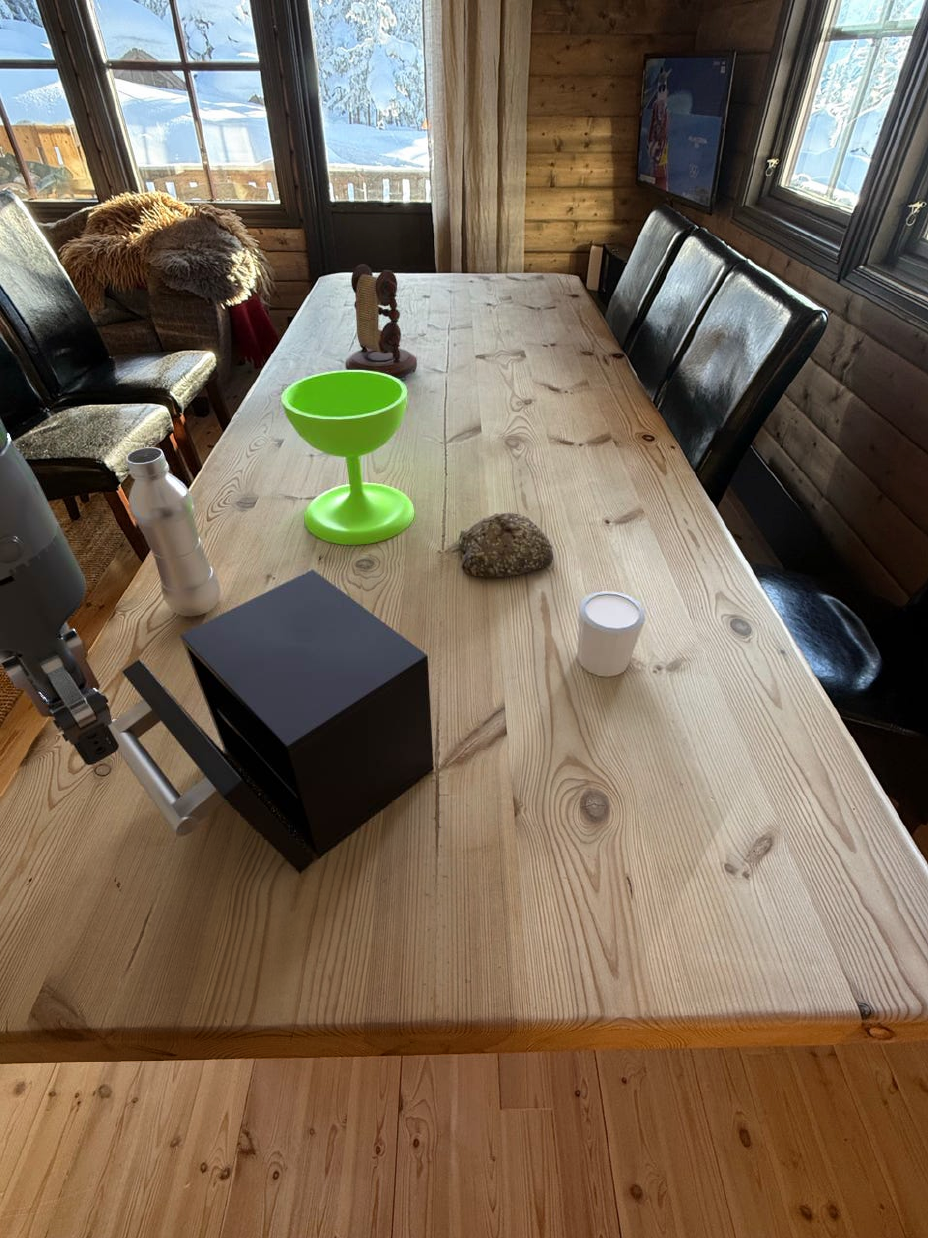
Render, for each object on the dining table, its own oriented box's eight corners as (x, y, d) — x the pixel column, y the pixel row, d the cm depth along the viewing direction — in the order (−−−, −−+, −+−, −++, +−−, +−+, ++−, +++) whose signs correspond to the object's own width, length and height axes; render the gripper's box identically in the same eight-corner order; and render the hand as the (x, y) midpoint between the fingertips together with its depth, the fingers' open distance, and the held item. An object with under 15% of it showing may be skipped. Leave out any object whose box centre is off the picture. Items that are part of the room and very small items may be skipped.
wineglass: (437, 509, 97) (433, 389, 85) (358, 559, 87) (341, 431, 76) (361, 476, 104) (348, 361, 93) (281, 518, 95) (254, 396, 83)
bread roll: (560, 573, 85) (564, 541, 82) (467, 585, 83) (467, 553, 80) (533, 521, 94) (535, 490, 91) (448, 530, 92) (447, 499, 89)
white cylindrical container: (611, 690, 69) (621, 642, 65) (559, 659, 73) (565, 611, 68) (646, 657, 73) (658, 609, 69) (595, 629, 77) (603, 581, 72)
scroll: (331, 374, 137) (317, 268, 124) (382, 355, 145) (374, 254, 132) (381, 392, 130) (372, 282, 117) (431, 371, 138) (428, 266, 125)
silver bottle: (221, 584, 83) (176, 436, 70) (227, 616, 79) (179, 464, 65) (168, 595, 82) (111, 446, 68) (170, 629, 77) (109, 476, 64)
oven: (318, 859, 55) (286, 747, 45) (223, 749, 64) (179, 634, 54) (434, 770, 62) (427, 655, 52) (333, 681, 70) (312, 568, 61)
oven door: (262, 910, 53) (171, 839, 42) (171, 788, 61) (76, 703, 50) (315, 859, 55) (242, 779, 44) (220, 748, 63) (139, 658, 52)
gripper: (-144, 515, 35) (9, 727, 46) (-82, 637, 27) (80, 853, 39) (10, 466, 38) (115, 673, 50) (100, 562, 31) (199, 778, 43)
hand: (100, 752), depth 44 cm, fingers closed
